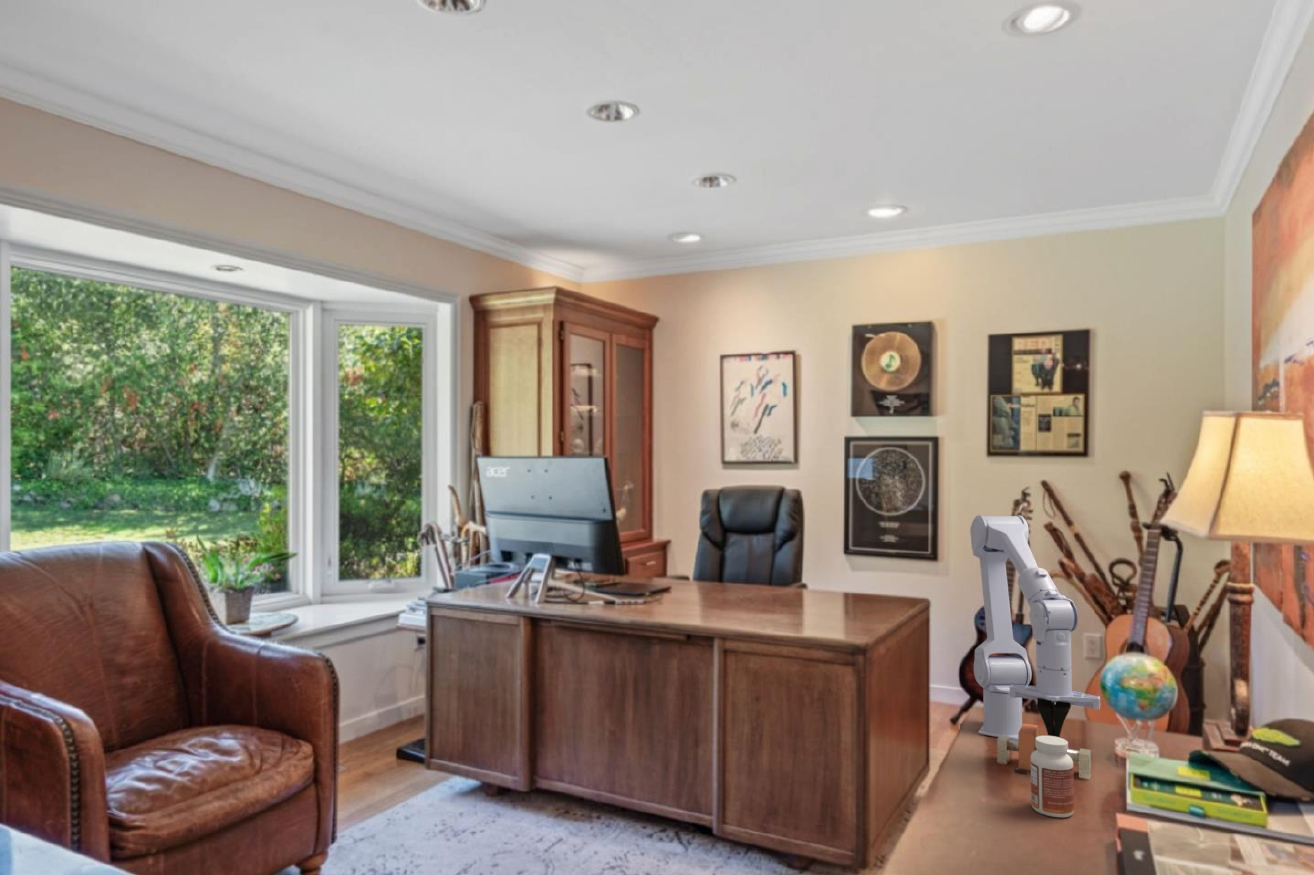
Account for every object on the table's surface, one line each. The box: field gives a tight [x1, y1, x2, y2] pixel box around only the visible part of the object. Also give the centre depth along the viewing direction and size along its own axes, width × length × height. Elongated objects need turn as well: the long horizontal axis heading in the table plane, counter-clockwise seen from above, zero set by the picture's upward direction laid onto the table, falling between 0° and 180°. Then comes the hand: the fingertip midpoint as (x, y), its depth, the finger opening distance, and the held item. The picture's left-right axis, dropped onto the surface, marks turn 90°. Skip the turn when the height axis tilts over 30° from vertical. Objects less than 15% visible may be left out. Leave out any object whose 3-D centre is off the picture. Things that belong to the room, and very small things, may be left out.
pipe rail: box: [996, 735, 1092, 781], centre depth 149 cm, size 15×10×4 cm, turn 58°
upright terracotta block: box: [1018, 722, 1039, 772], centre depth 150 cm, size 2×6×6 cm, turn 148°
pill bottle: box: [1030, 735, 1075, 819], centre depth 131 cm, size 6×6×11 cm
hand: (1054, 743), depth 148 cm, fingers closed
